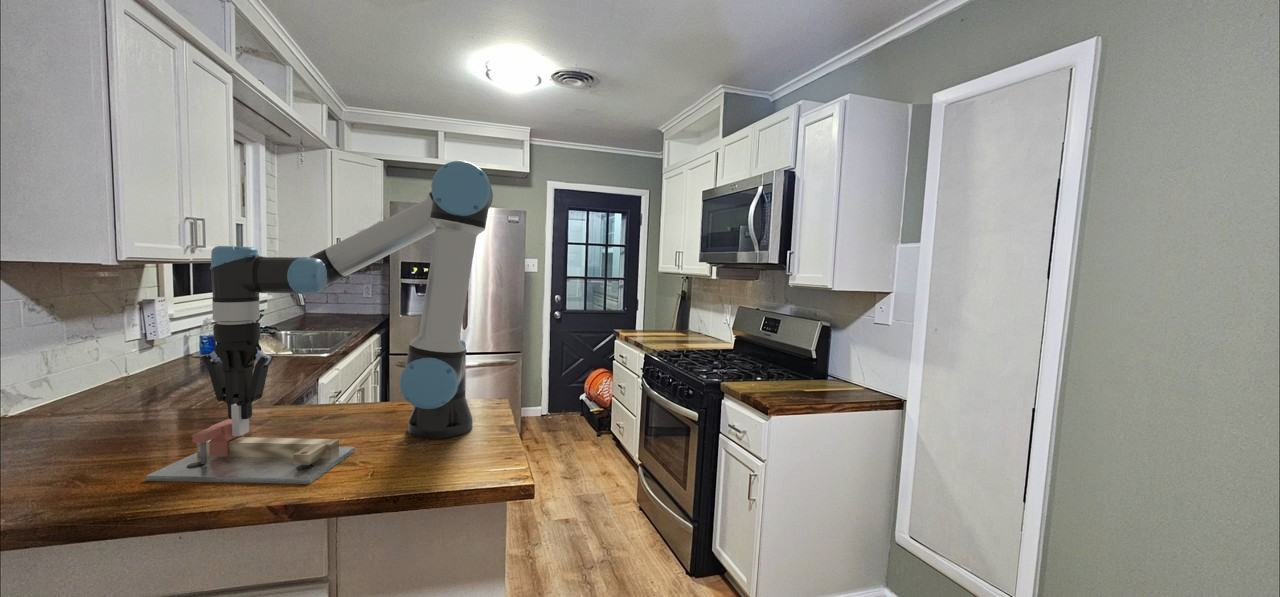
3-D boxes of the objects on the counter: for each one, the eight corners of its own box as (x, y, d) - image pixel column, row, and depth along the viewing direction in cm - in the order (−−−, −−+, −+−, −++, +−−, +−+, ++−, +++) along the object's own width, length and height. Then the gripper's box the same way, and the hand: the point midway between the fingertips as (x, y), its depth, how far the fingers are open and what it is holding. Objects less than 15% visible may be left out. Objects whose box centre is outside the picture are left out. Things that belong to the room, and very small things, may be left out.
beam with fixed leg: (339, 453, 107) (338, 439, 107) (314, 469, 99) (314, 455, 99) (209, 450, 106) (208, 436, 106) (173, 466, 98) (172, 451, 98)
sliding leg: (244, 446, 108) (244, 418, 107) (206, 466, 98) (205, 435, 97) (230, 446, 108) (229, 418, 107) (190, 465, 98) (189, 434, 97)
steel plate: (355, 451, 111) (354, 446, 111) (309, 483, 95) (309, 478, 95) (215, 448, 110) (215, 443, 110) (146, 480, 94) (145, 474, 94)
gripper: (282, 320, 107) (284, 428, 109) (219, 318, 107) (223, 427, 108) (256, 325, 99) (259, 441, 101) (188, 323, 99) (193, 439, 101)
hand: (240, 433), depth 105 cm, fingers closed
